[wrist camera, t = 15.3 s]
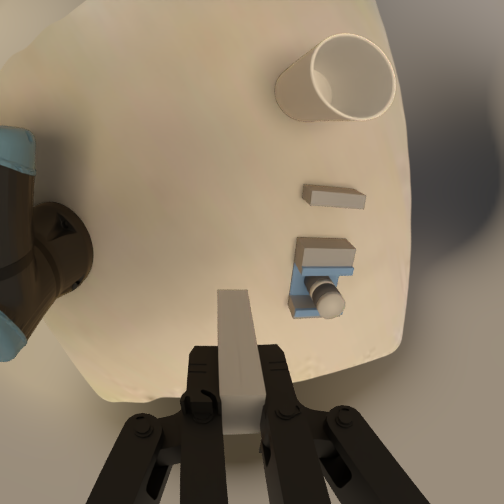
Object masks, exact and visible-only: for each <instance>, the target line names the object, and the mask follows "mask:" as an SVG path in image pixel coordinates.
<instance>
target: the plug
mask: <svg viewBox="0 0 504 504" xmlns="http://www.w3.org/2000/svg"><path fill="white" fill-rule="evenodd" d="M304 284H305V286H306V288H307V290H308V292H309V294H310V296H311V298H312V300H313V302H314V304H315V306H316V308H317V310H318V312H319V314H320V316H321V317H323V318H325V319H332V318H335V317H337V316H339V315H340V314H341V313H342V312H343V310H344V308H345V300H344V299H343V297H342V296H341V294H340V292H339V291H338V289H337V288H336V286H335V285H334V283H333V282H332V280H331V279H330V278H329V276H305V278H304Z"/></svg>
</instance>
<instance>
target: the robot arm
mask: <svg viewBox="0 0 504 504" xmlns="http://www.w3.org/2000/svg"><path fill="white" fill-rule="evenodd" d="M35 151H36V141H35V137H34V135H33V134H32V133H31V132H30V131H29V130H27V129H24V128H19V127H11V126H2V125H0V362H7V361H10V360H12V359H14V358H15V357H16V355H17V354H18V353H19V351H20V350H21V349H22V348H23V347H24V346H26V344H27V341H28V339H29V337H30V336H31V334H32V333H33V331H34V330H35V328H36V327H37V325H38V324H39V322H40V321H41V319H42V318H43V316H44V315H45V314H46V312H47V311H48V309H49V308H50V307H51V305H52V304H53V302H54V301H55V300H56V299H57V298H59V297H61V296H63V295H65V294H67V293H69V292H71V291H73V290H75V289H76V288H77V287H79V286H80V285H81V284H82V282H83V281H84V280H85V278H86V277H87V276H88V274H89V272H90V270H91V267H92V262H93V248H92V243H91V239H90V236H89V234H88V231H87V229H86V227H85V226H84V224H83V223H82V221H81V220H80V219H79V217H78V216H77V215H76V214H75V213H74V212H73V211H71V210H70V209H69V208H67V207H65V206H64V205H61V204H59V203H55V202H45V203H41V204H39V205H37V206H35V207H33V196H34V177H35V175H36V170H35ZM180 404H181V410H180V411H179V412H178V413H176V414H174V415H171V416H167V417H163V418H158V419H157V418H156V417H154V416H152V415H150V414H145V413H141V414H135V415H133V416H132V417H130V418H129V419H128V420H127V421H126V422H125V425H124V427H123V428H122V430H121V432H120V434H119V436H118V438H117V440H116V442H115V444H114V446H113V448H112V450H111V452H110V454H109V457H108V458H107V460H106V463H105V465H104V466H103V469H102V470H101V473H100V475H99V477H98V479H97V481H96V483H95V485H94V487H93V489H92V492H91V494H90V496H89V498H88V500H87V502H86V504H159V503H160V500H161V497H162V494H163V491H164V488H165V485H166V483H167V480H168V477H169V474H170V471H171V468H172V465H173V464H178V463H181V468H180V471H181V472H180V504H228V497H227V484H226V471H225V458H224V443H223V434H251V433H259V432H260V431H261V437H262V439H261V444H260V448H259V453H262V457H263V463H264V470H265V477H266V483H267V488H268V495H269V502H270V504H331V501H330V498H329V494H328V491H327V487H326V483H325V480H324V477H325V479H326V480H327V482H328V483H329V485H330V487H331V489H332V490H333V492H334V493H335V495H336V496H337V498H338V499H339V501H340V503H341V504H430V503H429V502H428V500H427V499H426V498H425V497H424V495H423V494H422V493H421V492H420V490H419V489H418V488H417V486H416V485H415V484H414V483H413V481H412V480H411V479H410V478H409V476H408V475H407V474H406V472H405V471H404V470H403V469H402V467H401V466H400V465H399V464H398V462H397V461H396V460H395V458H394V457H393V456H392V454H391V453H390V452H389V451H388V449H387V448H386V447H385V446H384V444H383V443H382V442H381V440H380V439H379V438H378V436H377V435H376V434H375V433H374V431H373V430H372V429H371V427H370V426H369V425H368V423H367V422H366V421H365V420H364V418H363V417H362V416H361V414H360V413H359V412H358V411H357V410H356V409H354V408H352V407H350V406H344V405H341V406H336V407H334V408H333V409H331V410H330V412H324V411H317V410H312V409H309V408H307V407H304V406H303V405H302V404H301V403H300V402H299V401H298V400H297V397H296V395H295V391H294V388H293V384H292V380H291V377H290V373H289V370H288V366H287V363H286V358H285V355H284V352H283V351H282V350H281V348H280V347H279V346H278V345H277V344H271V345H257V341H256V335H255V330H254V324H253V319H252V313H251V307H250V301H249V296H248V290H218V346H194V348H193V349H192V351H191V352H190V354H189V365H188V377H187V390H186V392H185V393H184V394H183V395H182V396H181V399H180Z"/></svg>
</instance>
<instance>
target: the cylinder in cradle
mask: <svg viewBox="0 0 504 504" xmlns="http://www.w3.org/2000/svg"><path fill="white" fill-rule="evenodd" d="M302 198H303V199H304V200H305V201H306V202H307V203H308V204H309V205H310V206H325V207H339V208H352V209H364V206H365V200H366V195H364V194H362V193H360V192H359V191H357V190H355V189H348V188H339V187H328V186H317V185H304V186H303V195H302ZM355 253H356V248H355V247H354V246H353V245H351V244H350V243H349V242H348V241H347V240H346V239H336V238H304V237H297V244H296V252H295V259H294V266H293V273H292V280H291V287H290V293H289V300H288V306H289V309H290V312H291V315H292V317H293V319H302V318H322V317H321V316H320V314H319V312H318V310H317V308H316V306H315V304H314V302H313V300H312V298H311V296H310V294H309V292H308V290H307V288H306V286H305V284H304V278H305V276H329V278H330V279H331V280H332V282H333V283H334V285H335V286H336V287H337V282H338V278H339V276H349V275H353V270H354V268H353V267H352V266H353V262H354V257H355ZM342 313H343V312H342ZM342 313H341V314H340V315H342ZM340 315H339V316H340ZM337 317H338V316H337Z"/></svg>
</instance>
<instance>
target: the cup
mask: <svg viewBox="0 0 504 504" xmlns="http://www.w3.org/2000/svg"><path fill="white" fill-rule="evenodd" d="M395 90H396V79H395V74H394V71H393V68H392V65H391V63H390V61H389V59H388V58H387V56H386V55H385V54H384V52H383V51H382V50H381V49H380V48H379V47H378V46H377V45H375V44H374V43H373V42H371V41H370V40H368V39H366V38H364V37H361V36H359V35H355V34H348V33H343V34H336V35H333V36H330V37H328V38H326V39H325V40H323V41H322V42H320V43H319V44H318V45H316V46H315V47H314V48H312V49H311V50H310V51H309V52H307V53H306V54H305V55H304V56H302V57H301V58H300V59H299V60H297V61H296V62H295V63H294V64H292V65H291V66H290V67H289V68H288V69H286V70H285V71H284V72H283V73H282V74H281V75H280V76H279V78H278V80H277V82H276V85H275V97H276V101H277V103H278V105H279V107H280V108H281V110H282V111H283V112H284V113H285V114H286V115H288V116H289V117H291V118H293V119H295V120H298V121H303V122H312V121H364V120H370V119H373V118H376V117H378V116H380V115H381V114H383V113H384V112H385V111H386V110H387V109H388V108H389V106H390V105H391V103H392V101H393V99H394V96H395Z"/></svg>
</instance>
